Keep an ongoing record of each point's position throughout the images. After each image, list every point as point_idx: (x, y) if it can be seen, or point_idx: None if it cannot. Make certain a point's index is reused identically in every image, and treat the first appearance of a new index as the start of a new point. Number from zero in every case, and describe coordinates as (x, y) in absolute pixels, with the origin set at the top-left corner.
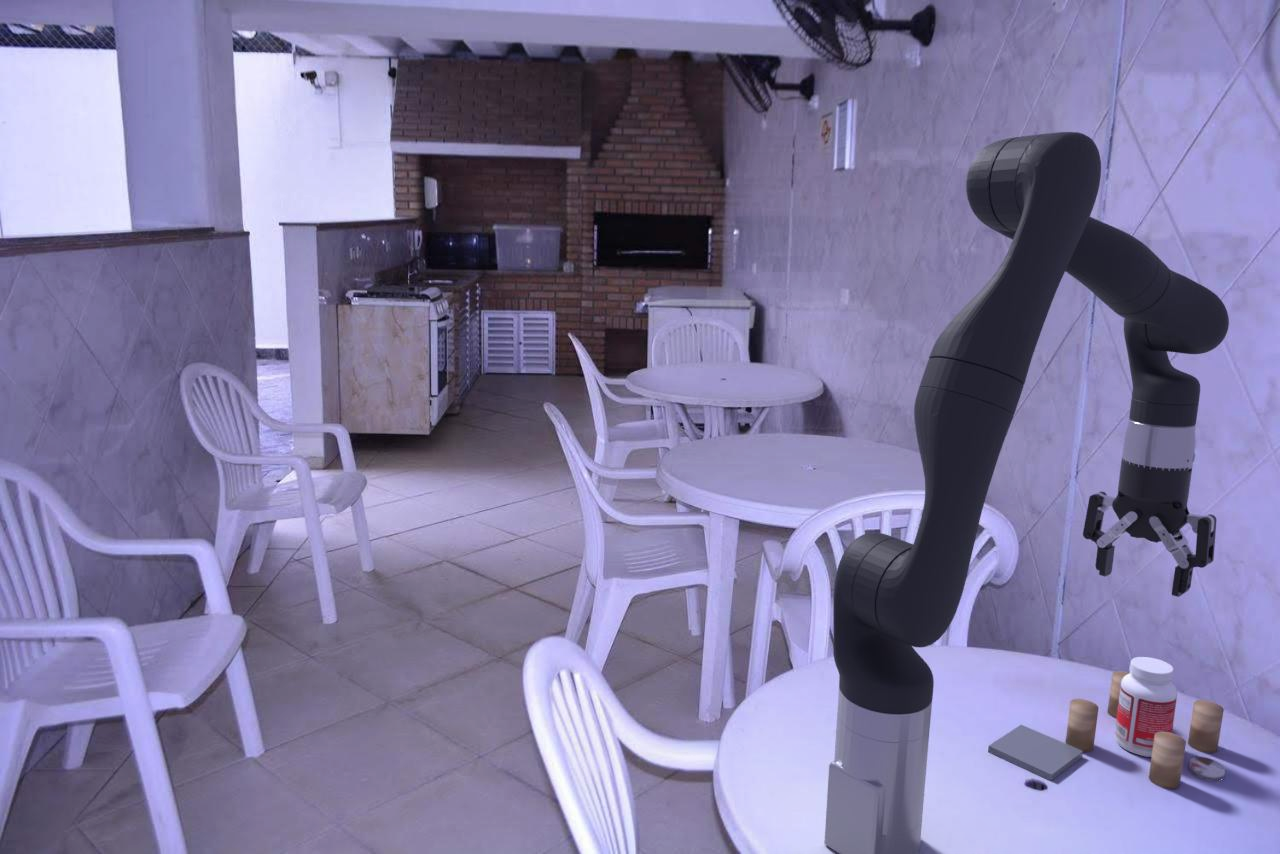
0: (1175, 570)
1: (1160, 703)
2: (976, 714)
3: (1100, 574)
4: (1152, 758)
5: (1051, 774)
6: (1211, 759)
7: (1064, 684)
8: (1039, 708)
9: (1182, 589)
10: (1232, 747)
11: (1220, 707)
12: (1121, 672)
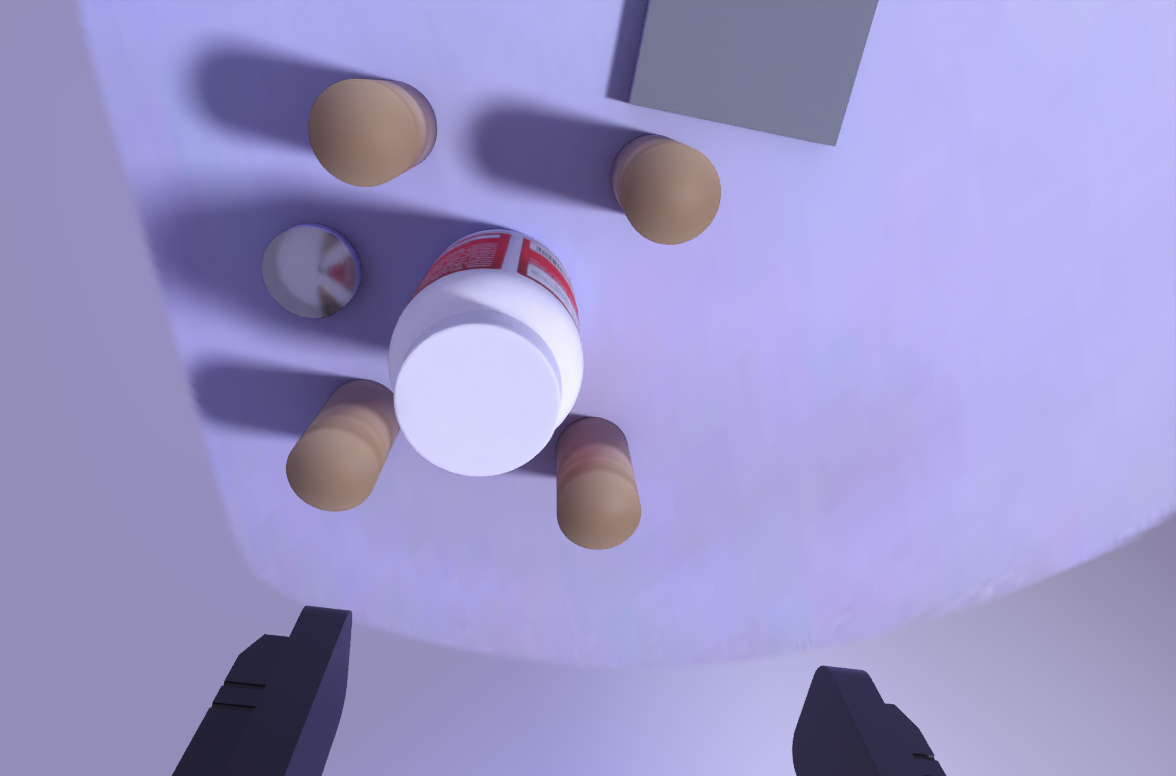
0: (281, 764)
1: (426, 286)
2: (972, 154)
3: (854, 669)
4: (418, 105)
5: None
6: (309, 315)
7: (766, 524)
8: (802, 330)
9: (268, 657)
10: None
11: (300, 489)
12: (617, 535)
